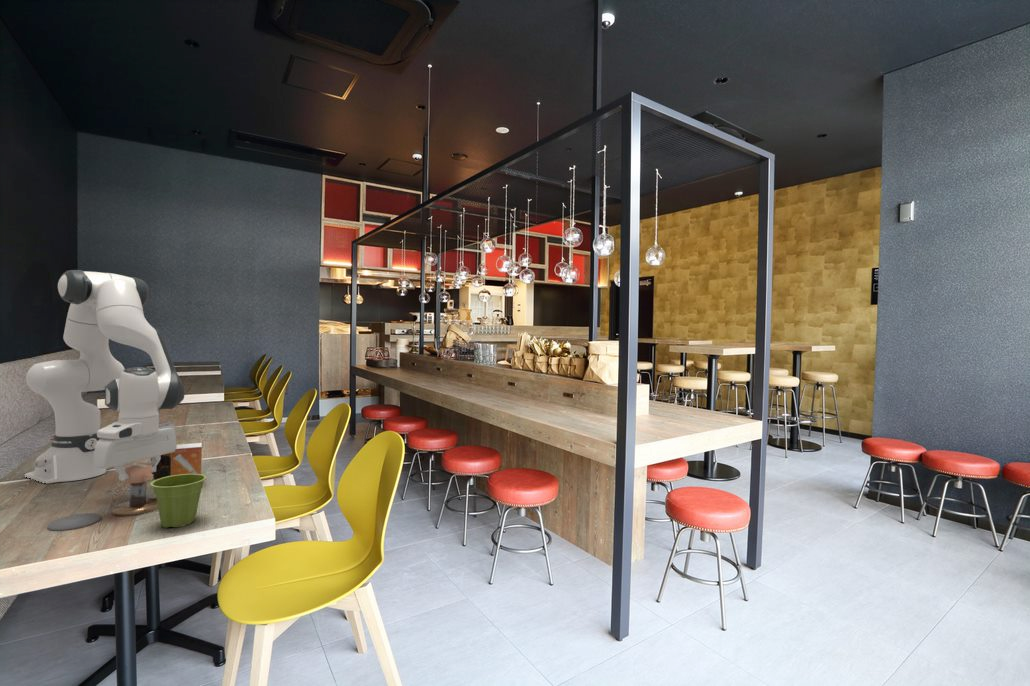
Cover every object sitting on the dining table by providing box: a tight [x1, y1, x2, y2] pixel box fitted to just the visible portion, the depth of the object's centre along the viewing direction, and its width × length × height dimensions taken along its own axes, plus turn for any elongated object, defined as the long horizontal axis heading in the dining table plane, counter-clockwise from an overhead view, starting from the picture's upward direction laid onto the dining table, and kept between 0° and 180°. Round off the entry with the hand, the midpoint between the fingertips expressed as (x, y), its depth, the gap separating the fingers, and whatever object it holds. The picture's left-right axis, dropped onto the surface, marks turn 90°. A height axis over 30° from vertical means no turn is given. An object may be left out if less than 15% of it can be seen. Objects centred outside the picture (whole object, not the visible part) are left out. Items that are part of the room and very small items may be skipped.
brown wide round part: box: [111, 481, 158, 517], centre depth 132 cm, size 11×11×8 cm
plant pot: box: [150, 473, 207, 528], centre depth 123 cm, size 12×12×11 cm
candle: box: [150, 442, 184, 480], centre depth 161 cm, size 10×10×10 cm
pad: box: [47, 512, 102, 532], centre depth 121 cm, size 10×10×1 cm
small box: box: [171, 442, 203, 476], centre depth 151 cm, size 8×6×13 cm
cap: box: [123, 462, 154, 485], centre depth 132 cm, size 9×6×4 cm, turn 76°
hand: (138, 476), depth 132 cm, fingers closed on cap, 6 cm apart
